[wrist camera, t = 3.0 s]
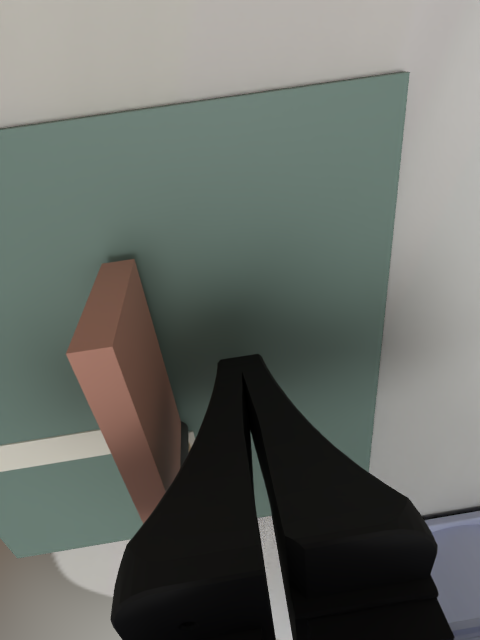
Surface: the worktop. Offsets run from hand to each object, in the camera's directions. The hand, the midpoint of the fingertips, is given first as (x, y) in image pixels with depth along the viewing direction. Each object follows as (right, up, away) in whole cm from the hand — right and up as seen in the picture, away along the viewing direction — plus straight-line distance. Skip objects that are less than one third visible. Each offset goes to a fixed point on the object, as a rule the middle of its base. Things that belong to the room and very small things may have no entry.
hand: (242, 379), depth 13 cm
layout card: (-3, -1, +2) cm, 4 cm away
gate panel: (-3, +1, 0) cm, 3 cm away
